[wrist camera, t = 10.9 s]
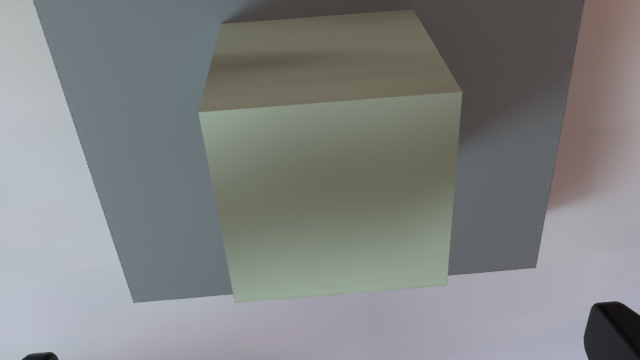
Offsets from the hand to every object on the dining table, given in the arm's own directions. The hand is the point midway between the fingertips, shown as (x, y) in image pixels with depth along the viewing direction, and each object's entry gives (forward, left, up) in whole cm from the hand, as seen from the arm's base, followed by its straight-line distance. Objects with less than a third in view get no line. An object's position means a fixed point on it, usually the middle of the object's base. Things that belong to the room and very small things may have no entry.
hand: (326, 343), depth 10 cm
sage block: (0, 0, -8) cm, 8 cm away
